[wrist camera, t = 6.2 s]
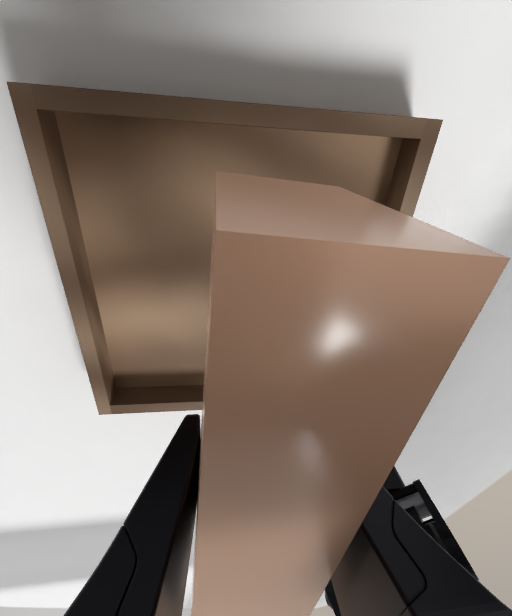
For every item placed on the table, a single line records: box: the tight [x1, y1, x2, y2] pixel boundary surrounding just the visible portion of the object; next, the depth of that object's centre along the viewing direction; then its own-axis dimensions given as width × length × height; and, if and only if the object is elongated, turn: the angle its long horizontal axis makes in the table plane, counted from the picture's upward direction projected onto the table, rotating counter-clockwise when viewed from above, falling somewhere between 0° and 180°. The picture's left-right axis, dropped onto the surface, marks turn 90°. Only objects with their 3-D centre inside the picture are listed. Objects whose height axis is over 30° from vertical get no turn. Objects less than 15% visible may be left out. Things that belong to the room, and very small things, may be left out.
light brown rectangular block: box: [191, 171, 510, 616], centre depth 8 cm, size 14×3×5 cm, turn 173°
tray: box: [7, 82, 443, 415], centre depth 18 cm, size 18×18×2 cm
